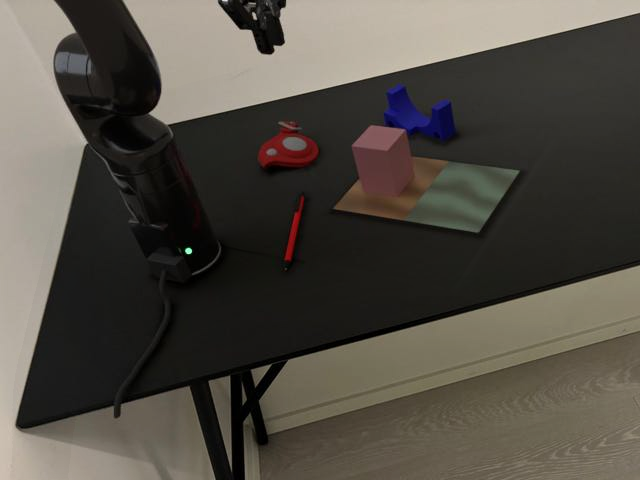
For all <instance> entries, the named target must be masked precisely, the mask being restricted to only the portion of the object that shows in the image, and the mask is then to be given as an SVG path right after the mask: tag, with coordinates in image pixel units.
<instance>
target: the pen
mask: <svg viewBox="0 0 640 480" xmlns="http://www.w3.org/2000/svg"><path fill="white" fill-rule="evenodd" d="M304 194H305V192H304V191H301V193H300V194H298V198H297V201H296V205H295V211H294V216H293V221H292V225H291V230H290V234H289V238H288V243H287V247H286V252H285V256H284V262H283V263H284V264H283V265H284V270H285V271H287V270H288V268H289V266H291V263H292V260H293V259H292V258H293V253H294V248H295V243H296V239H297V234H298V230H299V224H300V220H301V215H302V212H303V206H304V203H305V202H304V201H305V195H304Z"/></svg>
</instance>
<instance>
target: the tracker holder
mask: <svg viewBox="0 0 640 480" xmlns="http://www.w3.org/2000/svg"><path fill="white" fill-rule="evenodd" d="M278 125H281V126H280V130H281V131H280V132H279V133H278V135H276V136H274V137H272V138H271V139H269V140H267V142H265V143H263V144H262V145H261V147H260V148H259V151H258V156H257V161H258V163H259V164H260V166H262V168H263V169H264V170H268V169H270V168H271V167H272V166H281V167H285V168H304V167H306V166H309V165H310V164H312V162H314V161H315V160H316V159H317V158H318V156H319V147H318V145H317V144H316V143H315V141H313V140H312V139H310V138H309V137H308V136H305V135H302V134H299V132H300V131H302V130H303V129H302V127H299V124H297V123H296V122H294V121H278Z"/></svg>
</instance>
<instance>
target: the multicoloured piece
mask: <svg viewBox="0 0 640 480" xmlns="http://www.w3.org/2000/svg"><path fill="white" fill-rule="evenodd" d="M411 158H412V163H413V168H414V173H415V176H414V177H413V179H412V180H411V181H410V182H409V184H408V185H407V186H406V187H405V189H404V190H403V191H402V192H401V194H400V195H399V196H398V197H392V196H386V195H379V194H373V193H366V192H363V189H362V185H361V181H360V178H358V179H357V181H356V182H355V183H354V184H353V185H352V186H351V188H350V189H349V190H347V192H346V193H345V194H344V195H343V196H342V197H341V198H340V200H339V201H338V202H337V203H336V204H335V205H334V207H333V208H332V209H333V210H337V211H343V212H350V213H356V214H361V215H369V216H374V217H379V218H380V217H381V218H385V219H393V220H398V221H405V222H412V223H416V224H422V225H430V226H434V227H435V226H436V227H440V228H441V227H442V228H446V229H447V228H448V229H454V230H460V231H466V232H472V233H478V234H479V233H480V232H481V230H482V228H483V227H484V225H486V223H487V221H488V220H489V218H490V216H491V215H492V214H493V212H494V211H495V209H496V208H497V206H498V205H499V203H500V202H501V200H502V199H503V197H504V195H506V192H508V190H509V188H510V187H511V185H512V184H513V182H514V181H515V179H516V178H517V176H518V174H519V173H520V172H521V170H517V169H511V168H504V167H503V168H502V167H495V166H488V165H481V164H480V165H479V164H472V163H465V162H458V161H450V160H443V159H435V158H428V157H427V158H426V157H422V156H421V157H419V156H412V155H411Z"/></svg>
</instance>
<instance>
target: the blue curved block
mask: <svg viewBox="0 0 640 480" xmlns="http://www.w3.org/2000/svg"><path fill="white" fill-rule="evenodd" d="M386 97H387V103H388V107H389V108H388V109H386V110H385V111H384V112H383V111H382V113H383V117H384V122H385V127H390V128H391V127H392V126H393V128H398V129H406V133H407V135H409V136H412V135H414V134H415V133H417V132H419V133H421V134H424V135H426V136H429V137H431V138H434V139H435V138H438V137H439V141H441V142H444V141H445V140H447V139H448V138H450V137H451V136H453V135H454V134H456V127H455V120H454V114H453V106H452V101H449V100H446V99H443V100H441V101H440V102H438V103H437V104H435V105H433V106H432V107H431V108H430V110H431V116H430V117H427V115H424V114H423V113H421V112H420V111H419V110H418V109H417V108H416V106H415V105H414V104H413V102H412V99H410V96H409V94H408V91H407V88H406V85H402V84H399V83H398V84H397V85H395V86H393V87H392V88H390V89H388V90H387V91H386Z"/></svg>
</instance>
